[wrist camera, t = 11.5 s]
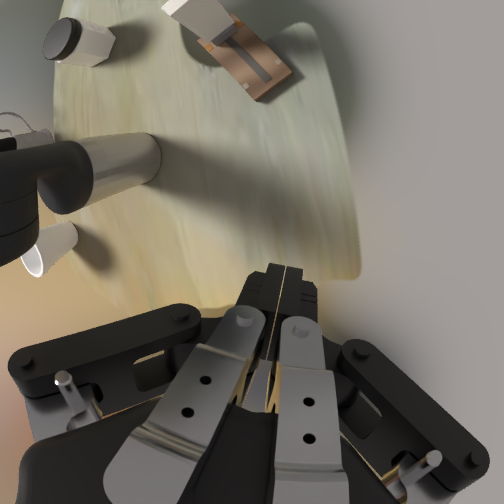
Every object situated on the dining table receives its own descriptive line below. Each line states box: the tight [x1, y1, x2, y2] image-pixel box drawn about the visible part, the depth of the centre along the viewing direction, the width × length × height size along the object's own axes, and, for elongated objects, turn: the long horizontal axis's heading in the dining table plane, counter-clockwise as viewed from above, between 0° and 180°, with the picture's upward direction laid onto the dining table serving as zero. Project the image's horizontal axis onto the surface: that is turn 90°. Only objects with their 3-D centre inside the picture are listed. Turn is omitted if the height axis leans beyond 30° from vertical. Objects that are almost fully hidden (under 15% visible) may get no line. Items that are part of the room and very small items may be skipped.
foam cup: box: [20, 221, 78, 277], centre depth 49 cm, size 10×9×13 cm
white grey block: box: [161, 0, 238, 46], centre depth 25 cm, size 3×5×14 cm, turn 129°
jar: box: [43, 17, 116, 67], centre depth 31 cm, size 9×8×12 cm
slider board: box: [197, 14, 293, 102], centre depth 34 cm, size 14×7×2 cm, turn 39°
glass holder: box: [0, 112, 54, 152], centre depth 40 cm, size 9×14×15 cm, turn 7°
